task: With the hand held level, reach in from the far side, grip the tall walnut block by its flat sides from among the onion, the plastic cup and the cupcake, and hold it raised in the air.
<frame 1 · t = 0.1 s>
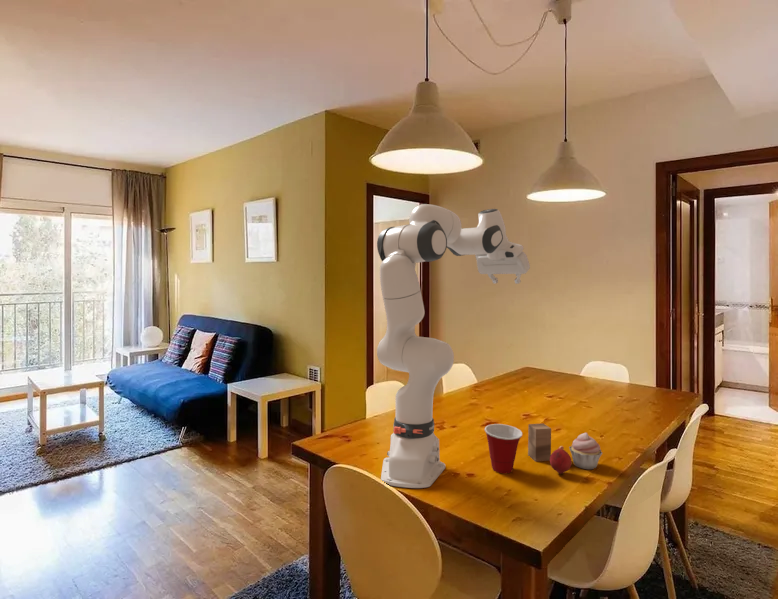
hand: (506, 282, 179), 54 cm above the table, tool tilted 30°, fingers open, 8 cm apart
onion: (560, 474, 134), on the table
walnut block: (539, 457, 146), on the table
plastic cup: (503, 470, 137), on the table
cupcake: (585, 466, 140), on the table
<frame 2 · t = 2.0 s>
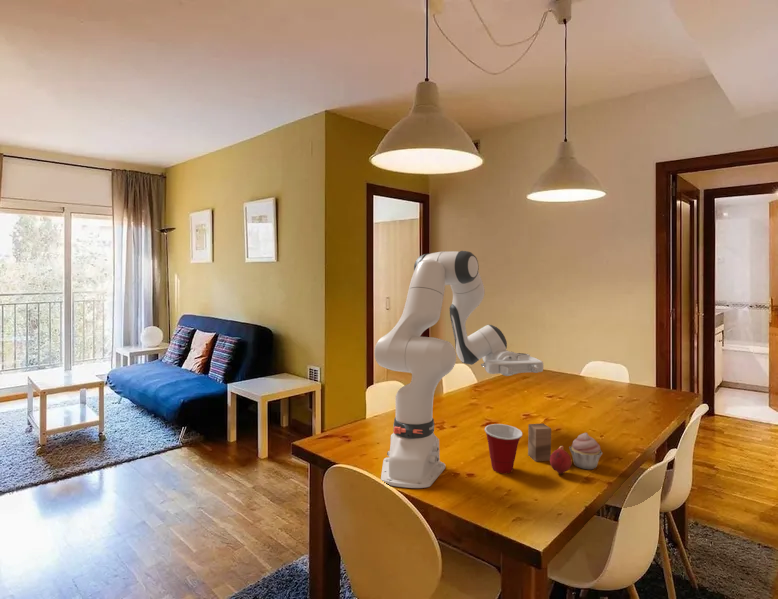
hand: (523, 370, 157), 25 cm above the table, tool horizontal, fingers open, 8 cm apart
nothing on the table moved.
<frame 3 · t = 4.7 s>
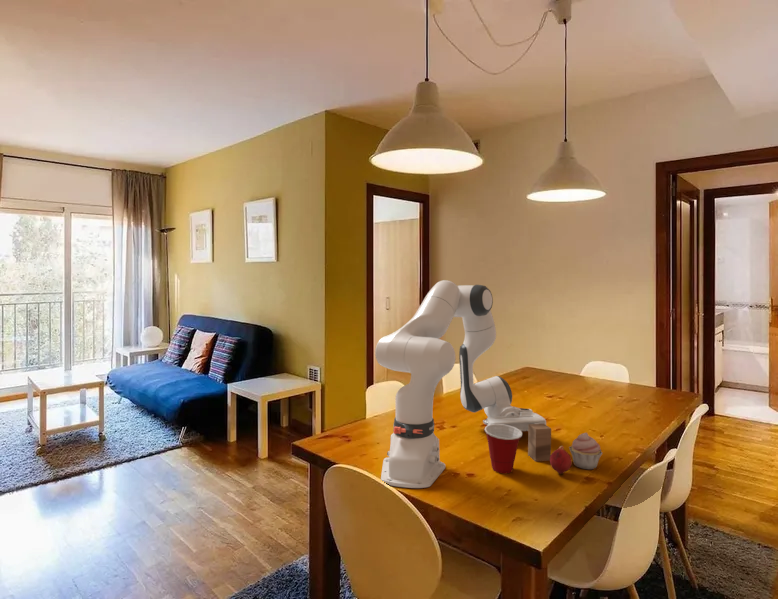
hand: (526, 431, 155), 5 cm above the table, tool horizontal, fingers open, 8 cm apart
nothing on the table moved.
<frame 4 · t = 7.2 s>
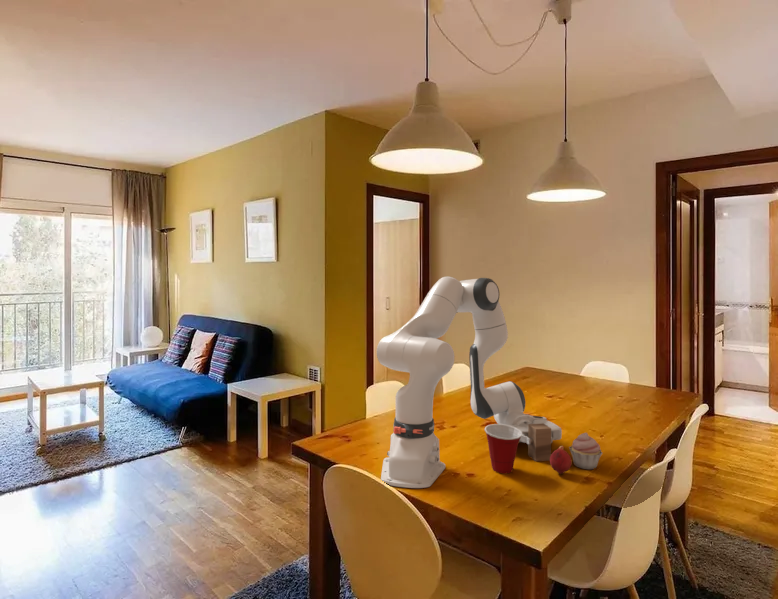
hand: (540, 441, 145), 6 cm above the table, tool horizontal, fingers closed on walnut block, 5 cm apart
walnut block: (539, 457, 146), on the table, touching gripper
everything else where it was.
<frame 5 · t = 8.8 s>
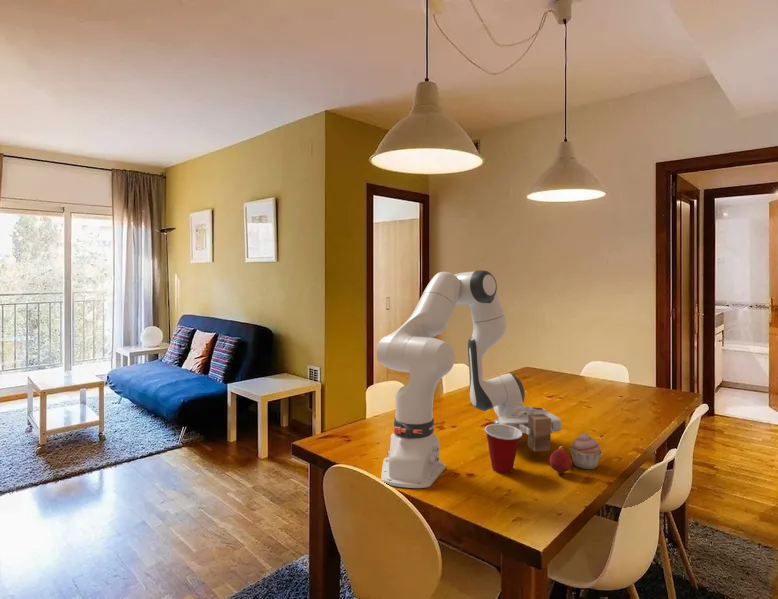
hand: (540, 431, 144), 9 cm above the table, tool horizontal, fingers closed on walnut block, 5 cm apart
walnut block: (538, 448, 146), point 3 cm above the table, touching gripper
everything else where it was.
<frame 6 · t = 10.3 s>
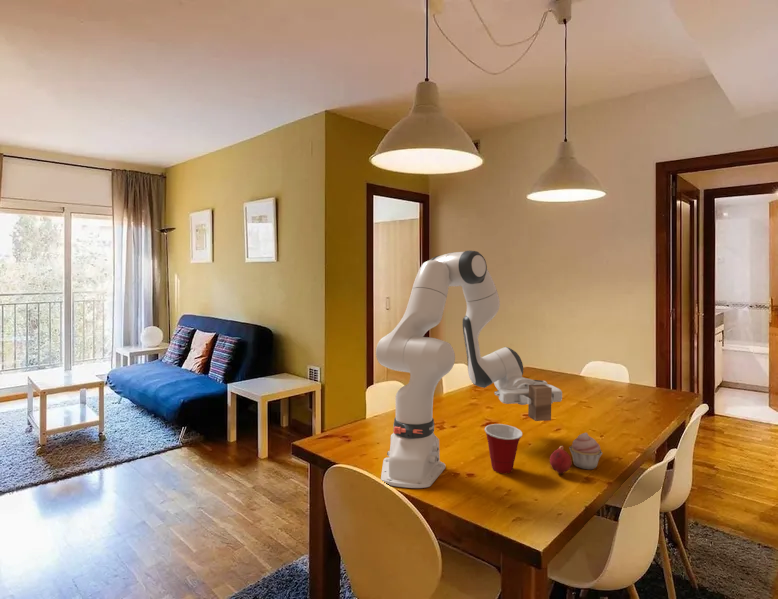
hand: (541, 401, 144), 18 cm above the table, tool horizontal, fingers closed on walnut block, 5 cm apart
walnut block: (539, 418, 145), point 13 cm above the table, touching gripper
everything else where it was.
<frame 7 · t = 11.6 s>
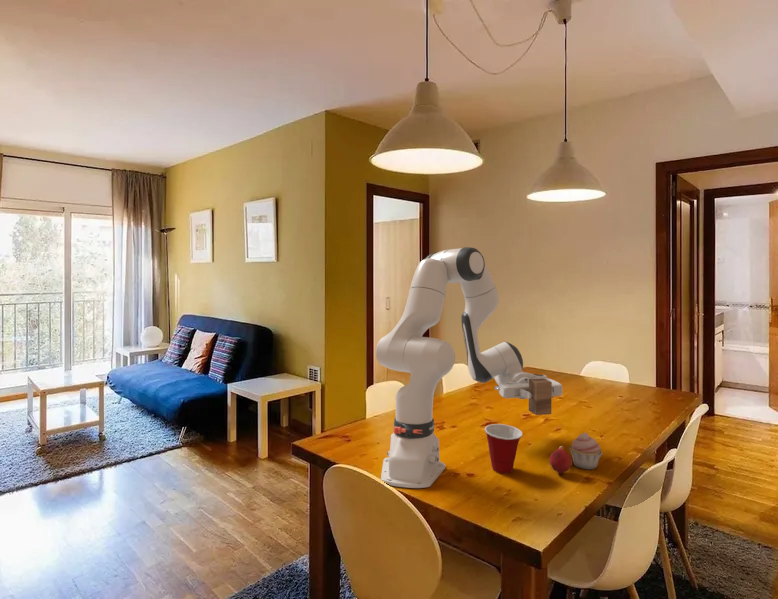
hand: (541, 395, 144), 20 cm above the table, tool horizontal, fingers closed on walnut block, 5 cm apart
walnut block: (539, 412, 145), point 14 cm above the table, touching gripper
everything else where it was.
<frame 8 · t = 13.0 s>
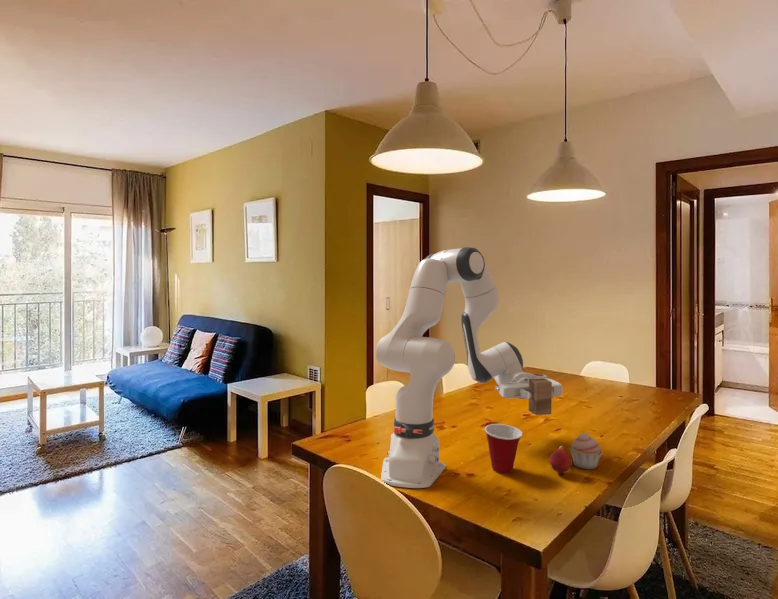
hand: (541, 395, 144), 20 cm above the table, tool horizontal, fingers closed on walnut block, 5 cm apart
walnut block: (539, 412, 145), point 14 cm above the table, touching gripper
everything else where it was.
at the end: the gripper is holding walnut block; walnut block point 14.4 cm above the table; cupcake moved 0.2 cm from its start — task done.
